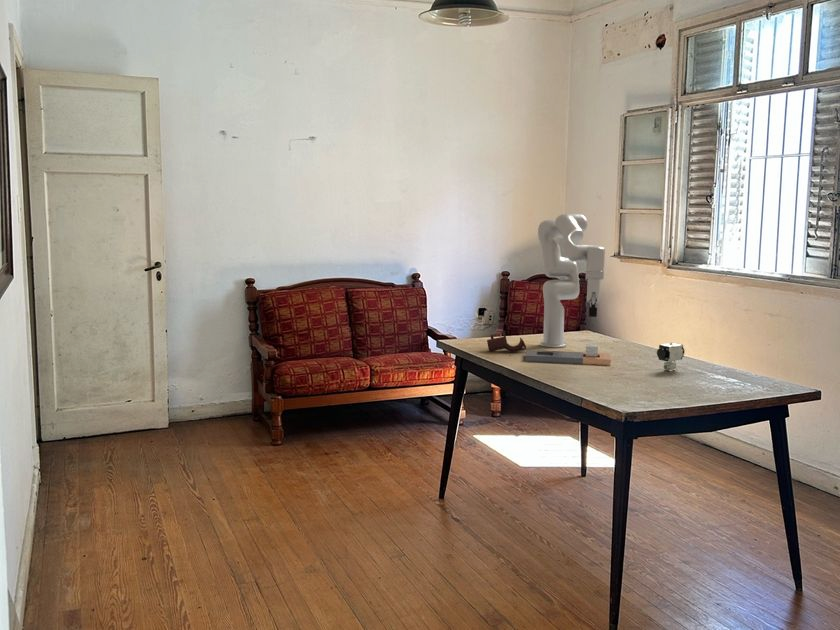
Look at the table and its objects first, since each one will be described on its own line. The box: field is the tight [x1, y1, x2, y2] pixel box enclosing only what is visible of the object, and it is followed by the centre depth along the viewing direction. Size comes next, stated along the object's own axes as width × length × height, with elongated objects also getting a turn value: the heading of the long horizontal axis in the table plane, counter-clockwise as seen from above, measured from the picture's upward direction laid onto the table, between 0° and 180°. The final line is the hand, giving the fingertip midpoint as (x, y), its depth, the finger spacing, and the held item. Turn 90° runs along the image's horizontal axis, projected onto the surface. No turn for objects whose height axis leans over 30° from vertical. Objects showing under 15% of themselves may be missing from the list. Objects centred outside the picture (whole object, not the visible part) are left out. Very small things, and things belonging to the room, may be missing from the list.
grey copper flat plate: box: [524, 349, 612, 366], centre depth 352 cm, size 14×36×2 cm, turn 78°
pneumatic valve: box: [656, 341, 685, 371], centre depth 331 cm, size 6×12×12 cm, turn 122°
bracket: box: [486, 330, 527, 353], centre depth 370 cm, size 6×17×10 cm, turn 86°
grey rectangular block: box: [585, 344, 599, 357], centre depth 350 cm, size 5×5×7 cm
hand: (592, 314), depth 348 cm, fingers open, 9 cm apart
